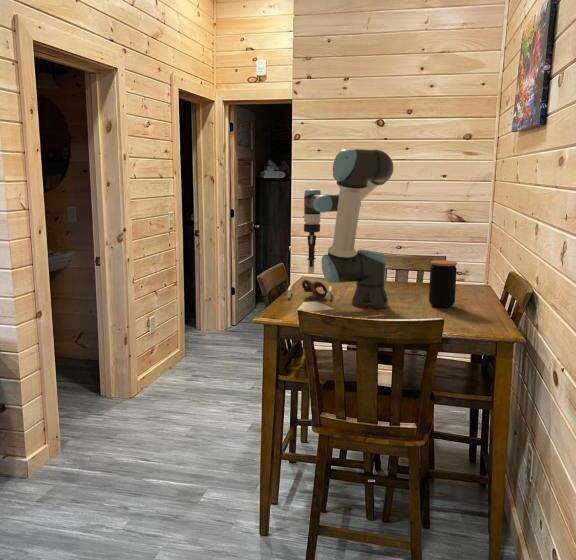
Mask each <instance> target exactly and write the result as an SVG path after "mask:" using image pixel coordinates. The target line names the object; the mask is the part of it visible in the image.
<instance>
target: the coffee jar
mask: <svg viewBox="0 0 576 560" xmlns="http://www.w3.org/2000/svg"><path fill="white" fill-rule="evenodd" d="M430 264H431V266H430V269H429V288H428V291H429V292H428V302H429V304H430V305H432V306H435V307H445V308H446V307H451V306H453V305H454V304H455V302H456V286H457V267H456V266H457V265H458V262H456V261H454V260H447V259H446V260H445V259H438V260H431V261H430Z"/></svg>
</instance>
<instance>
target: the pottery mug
mask: <svg viewBox="0 0 576 560" xmlns="http://www.w3.org/2000/svg"><path fill="white" fill-rule="evenodd" d="M301 287H302V288H303V291H304V292H305V293H312V294H311V296H310V299H311V300H312V301H313V300H322V299H325V297H326V296H327V294H328V289H327V287H326V286H325V284H324V283H322V282H320V281H315V282H311V281H310V280H308V279H304V280H302V281H301ZM318 288H322V290H323V292H324V293H320V292H319V291H318V290H317V289H318Z"/></svg>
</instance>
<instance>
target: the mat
mask: <svg viewBox="0 0 576 560" xmlns="http://www.w3.org/2000/svg"><path fill="white" fill-rule="evenodd" d="M298 309H303V310H308V311H311V312H317V311H327V310H328V311H329V310H334V308H333V307H331V306H328V305H326V304H323V303H321V302H318V301H317V300H314V301H313V300H312V301H303V302H302V304H300V305H299V307H298ZM298 309H297V310H298ZM297 310H296V312H297ZM297 313H298V312H297Z"/></svg>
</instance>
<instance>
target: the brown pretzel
mask: <svg viewBox="0 0 576 560" xmlns="http://www.w3.org/2000/svg"><path fill="white" fill-rule="evenodd" d="M291 294H293V285H292V284H290V285H289V286H288V288H287V299H288V298H290V299H291V298H292V297H291V296H292V295H291ZM331 300H332V285H329V286H328V301H331Z"/></svg>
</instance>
